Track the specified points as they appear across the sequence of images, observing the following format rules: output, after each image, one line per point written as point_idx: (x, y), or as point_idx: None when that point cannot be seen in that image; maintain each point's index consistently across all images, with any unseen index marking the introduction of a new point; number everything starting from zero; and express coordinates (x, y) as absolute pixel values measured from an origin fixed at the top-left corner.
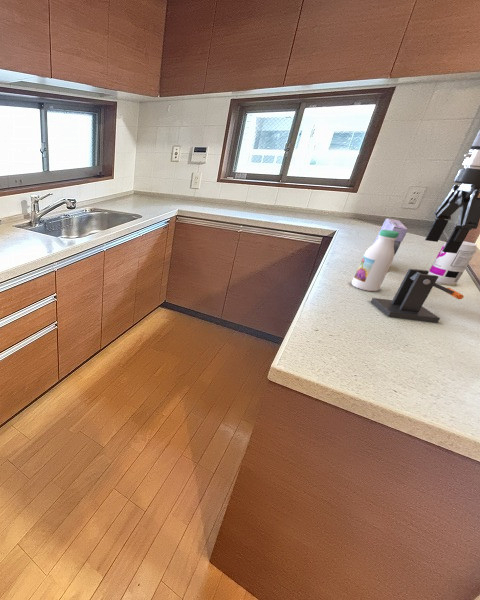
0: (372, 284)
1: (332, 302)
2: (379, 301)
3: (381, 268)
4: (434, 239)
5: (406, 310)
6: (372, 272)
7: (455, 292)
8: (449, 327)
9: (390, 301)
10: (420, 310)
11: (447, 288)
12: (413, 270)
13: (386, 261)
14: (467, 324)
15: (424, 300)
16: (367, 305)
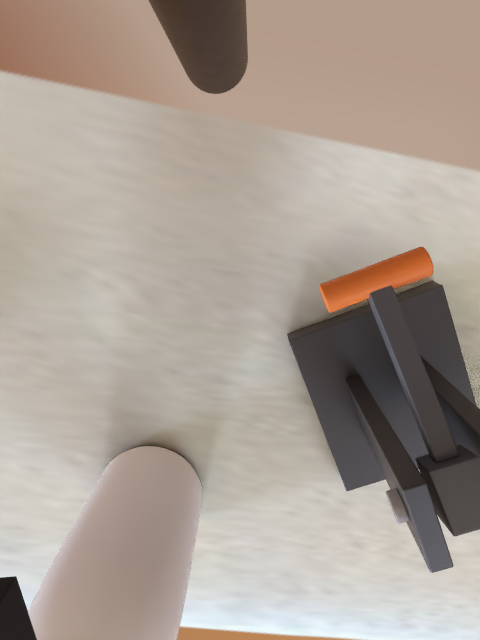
0: (196, 497)
1: (443, 587)
2: (379, 472)
3: (179, 561)
4: (15, 626)
5: None
6: (190, 561)
7: (398, 283)
8: (457, 246)
9: (348, 436)
10: None
11: (398, 327)
12: (448, 551)
13: (164, 593)
14: (369, 169)
15: (446, 380)
16: None
